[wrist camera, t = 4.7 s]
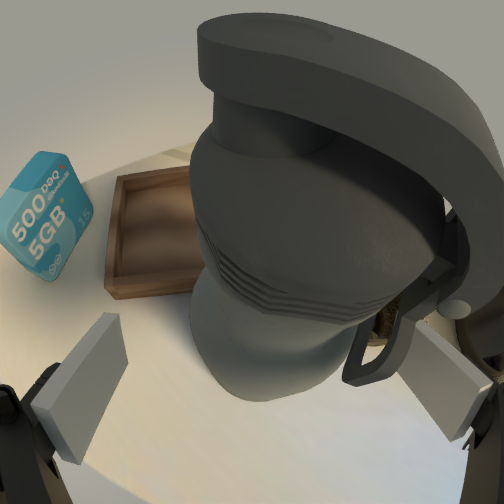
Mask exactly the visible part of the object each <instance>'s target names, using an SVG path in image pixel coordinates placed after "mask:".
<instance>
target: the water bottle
mask: <svg viewBox="0 0 504 504" xmlns="http://www.w3.org/2000/svg"><path fill="white" fill-rule="evenodd" d="M197 42H198V67H199V77H200V80H201V82H203V84H204V85H205V86H206V87H207V88H209V89H210V90H211V91H213V92H214V105H213V122H212V123H211V124H210V125H209V126H208V128H207V129H206V130H205V131H204V132H203V133H202V135H201V136H200V138H199V139H198V141H197V143H196V145H195V148H194V150H193V152H192V155H191V161H190V167H189V181H190V188H191V195H192V202H193V207H194V213H195V219H196V224H197V226H198V233H197V234H198V240H199V246H200V252H201V255H202V258H203V260H204V262H205V265H206V266H205V268H204V269H203V270H202V272H201V274H200V276H199V278H198V280H197V282H196V284H195V286H194V289H193V293H192V297H191V301H190V323H191V329H192V335H193V338H194V341H195V343H196V346H197V348H198V351H199V353H200V354H201V356H202V358H203V359H204V361H205V363H206V364H207V366H208V368H209V369H210V371H211V372H212V374H213V376H214V377H215V379H216V380H217V381H218V383H219V384H220V385H221V386H222V387H223V388H224V389H225V390H226V391H227V392H229V393H230V394H232V395H234V396H235V397H238V398H241V399H243V400H247V401H253V402H262V401H269V400H273V399H277V398H281V397H285V396H289V395H293V394H296V393H300V392H304V391H306V390H308V389H310V388H312V387H314V386H316V385H318V384H320V383H321V382H323V381H324V380H325V379H327V378H328V377H329V376H330V375H331V374H333V373H334V372H335V371H336V370H337V369H338V368H339V366H340V365H341V364H342V362H343V361H344V360H345V358H346V357H347V355H348V357H347V360H346V362H345V365H344V368H343V372H342V381H343V382H344V383H347V384H349V385H352V386H355V387H358V386H362V385H366V384H370V383H373V382H377V381H380V380H384V379H387V378H389V377H391V376H392V375H393V374H394V373H395V372H396V371H397V370H398V368H399V367H400V366H401V364H402V363H403V361H404V359H405V358H406V355H407V353H408V351H409V348H410V345H411V342H412V338H413V334H414V330H415V325H416V322H417V321H419V320H421V319H422V318H424V317H425V316H427V315H428V314H430V313H431V312H433V311H434V310H437V312H438V313H439V314H440V315H441V316H443V317H445V318H449V319H461V318H465V317H467V316H469V315H470V314H472V313H473V312H475V311H477V310H478V309H480V308H482V307H483V306H484V305H486V304H487V303H488V302H490V301H491V300H492V299H493V298H495V297H496V296H497V294H498V293H499V292H500V290H501V289H502V287H503V286H504V168H503V165H502V162H501V159H500V156H499V153H498V150H497V148H496V145H495V142H494V139H493V137H492V134H491V132H490V130H489V128H488V126H487V124H486V122H485V120H484V118H483V116H482V114H481V112H480V110H479V108H478V106H477V105H476V104H475V103H474V102H473V101H472V100H471V98H470V97H469V96H468V95H467V94H466V93H465V92H464V91H463V89H461V87H460V86H459V85H458V84H457V83H456V82H455V81H453V80H452V79H451V78H449V77H448V76H447V75H445V74H444V73H443V72H441V71H440V70H438V69H437V68H435V67H434V66H432V65H430V64H428V63H427V62H425V61H423V60H421V59H419V58H417V57H415V56H413V55H411V54H409V53H407V52H405V51H403V50H400V49H398V48H396V47H393V46H391V45H388V44H386V43H384V42H381V41H378V40H376V39H373V38H370V37H367V36H364V35H362V34H359V33H356V32H352V31H349V30H346V29H343V28H340V27H336V26H333V25H329V24H327V23H324V22H320V21H316V20H312V19H308V18H304V17H299V16H293V15H286V14H276V13H239V14H231V15H225V16H220V17H217V18H213V19H210V20H208V21H205V22H203V23H202V24H201V25H199V27H198V29H197ZM443 197H444V198H445V199H446V200H447V201H448V202H450V204H451V206H452V207H453V208H452V209H451V210H450V212H449V213H448V214H447V215H445V206H444V199H443ZM401 292H402V295H401V300H400V304H399V309H398V313H397V317H396V321H395V324H394V328H393V331H392V333H391V336H390V338H389V340H388V342H387V344H386V346H385V347H384V349H383V350H382V352H381V353H380V354H379V355H378V356H377V358H376V359H374V360H373V361H371V362H369V363H367V364H364V365H362V366H361V364H362V359H363V356H364V353H365V350H366V347H367V344H368V341H369V337H370V334H371V331H372V328H373V325H374V321H375V318H376V314H377V312H378V311H379V310H380V309H381V308H383V307H384V306H385V305H386V304H388V303H389V302H390V301H391V300H392V299H394V298H395V297H396V296H397V295H398V294H399V293H401ZM358 324H359V326H358ZM357 326H358V329H357ZM356 331H357V332H356ZM349 351H350V352H349ZM348 353H349V354H348Z"/></svg>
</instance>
